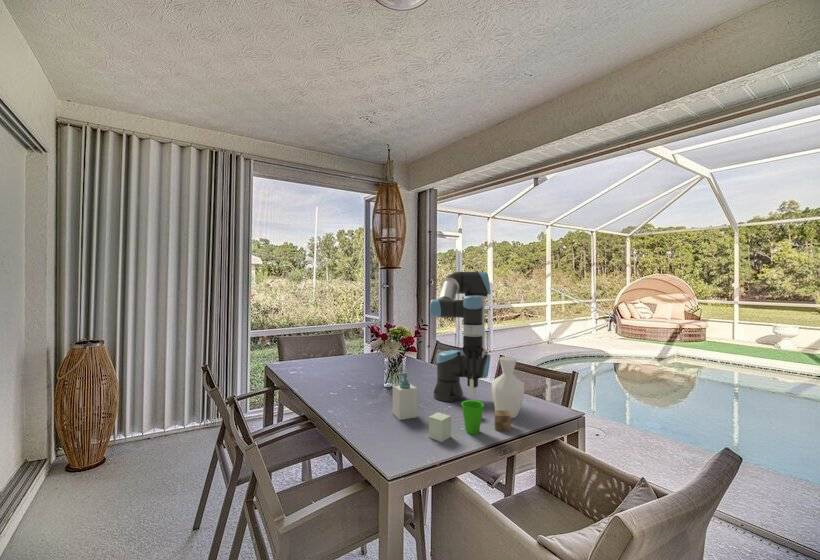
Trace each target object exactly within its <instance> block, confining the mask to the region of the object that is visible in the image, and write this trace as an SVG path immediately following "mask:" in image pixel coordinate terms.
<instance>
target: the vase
mask: <svg viewBox="0 0 820 560" xmlns="http://www.w3.org/2000/svg"><path fill="white" fill-rule="evenodd" d="M517 359H518V358H516V357H512V356H501V357H499V363H500V367H501V370H502V374H500V375H499V376H497V377H496V378H494V379H493V380H492V381H491V396H492V401H493V405H494V411H495V410H501V411H510V415H511V419H514V418H517V417H518V415H519V412H520V410H521V407H522V405H523V401H524V396H525V383H524V382H523V381H522V380H520V379H519V378H518V377H517V376H515V375H514V374H513V373H514V370H515V366H516V364H517Z"/></svg>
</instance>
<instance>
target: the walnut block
mask: <svg viewBox="0 0 820 560" xmlns="http://www.w3.org/2000/svg"><path fill="white" fill-rule="evenodd" d="M511 423H512V418H511V415H510V411H501V410H495V409H494V431H501V432H502V431H503V432H511V430H512V429H511V427H512V426H511V425H512V424H511Z"/></svg>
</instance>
